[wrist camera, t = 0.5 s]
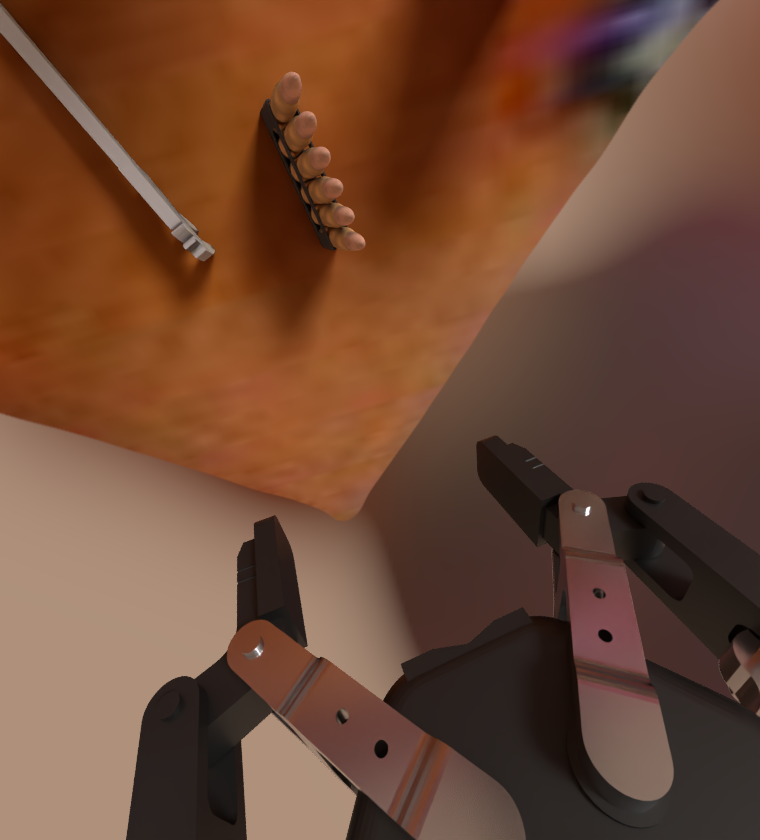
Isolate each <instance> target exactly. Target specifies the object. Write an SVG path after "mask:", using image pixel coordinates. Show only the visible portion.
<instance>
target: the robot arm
mask: <svg viewBox="0 0 760 840" xmlns="http://www.w3.org/2000/svg"><path fill="white" fill-rule="evenodd" d="M476 449H477V472H478V476H479V478H480V481H481V482H482V484H483V485H484V487H485V488H486V489H487V490H488V491H489V492H490V493H491V495H492V496H493V497H494V498H495V499H496V500H497V501H498V503H499V504H500V505H501V506H502V507H503V508H504V510H505V511H506V512H507V513H508V514H509V515H510V517H511V518H512V519H513V520H514V521H515V522H516V523H517V525H518V526H519V527H520V528H521V529H522V530H523V531H524V533H525V534H526V535H527V536H528V537H529V538H530V539H531V541H532V542H533V543H534V544H535V545H536V546H537V547H539V546H541V545H543V544H546V543H548V544H549V545H550V546H551V547H552V567H553V568H552V570H553V591H554V611H553V617H547V616H529V615H528V614H527V613H526V611H525V610H524V608H520V609H518V610H516V611H514V612H512V613H509V614H507V615H505V616H503V617H501V618H499V619H496V620H494V621H493V622H492V623H491V624H490V625H489V626H488V627H487V628H485V629H484V630H483V631H482V632H481V633H480V634H479V635H478V636H477V637H475V638H474V639H473V640H472V641H471V642H470V643H468V644H464V645H458V646H451V647H445V648H438V649H432V650H430V651H428V652H426V653H424V654H421V655H419V656H417V657H415V658H413V659H411V660H409V661H406V662H404V663H402V664H401V666H402V669H403V672H404V675H402V676H401V677H400V678H399V679H398V680H397V681H396V682H395V683H394V685H393V686H392V687H391V689H390V690H389V691H388V693H387V694H386V696H385V698H384V700H383V701H382V700H381V699H380V698H378V697H377V696H376V695H374V694H373V693H371V692H370V691H369V690H368V689H366V688H365V687H364V686H362V685H361V684H359V683H358V682H357V681H355V680H354V679H353V678H351V677H350V676H349V675H347V674H346V673H345V672H343V671H342V670H341V669H339V668H338V667H337V666H335V665H334V664H333V663H331V662H330V661H328V660H327V659H325V658H323V657H320V658H317V657H315V656H314V655H312V654H311V653H310V652H309V651H307V650H306V649H305V647H307V646H308V645H307V639H306V633H305V626H304V620H303V614H302V608H301V601H300V594H299V588H298V582H297V575H296V569H295V562H294V557H293V553H292V549H291V546H290V544H289V541H288V539H287V537H286V535H285V533H284V531H283V529H282V527H281V525H280V523H279V521H278V519H277V517H276V516H275V515H274V516H272V517H269V518H266V519H264V520H261V521H258V522H255V523H254V539H253V540H250V541H247V542H244V543H243V545H242V547H241V550H240V552H239V554H238V557H237V571H238V573H237V582H238V585H237V631H236V634H235V635H234V637H233V639H232V640H231V642H230V644H229V647H228V650H227V652H226V653H225V654H224V655H223V656H222V657H221V658H220V660H218V661H217V662H216V663H215V664H213V665H212V666H211V667H209V668H208V669H207V670H206V671H204V672H203V673H202V674H200V675H199V676H198V677H197V678H195V679H193V678H191V677H187V676H182V677H178V678H175V679H173V680H171V681H169V682H168V683H166V684H165V685H164V686H163V687H161V688H160V689H159V690H158V691H157V693H156V694H155V695H154V696H153V698H152V699H151V700H150V702H149V704H148V706H147V708H146V710H145V712H144V716H143V719H142V725H141V733H140V740H139V747H138V755H137V762H136V771H135V777H134V785H133V792H132V801H131V807H130V815H129V823H128V830H127V837H126V840H247V835H246V818H245V800H244V782H243V765H242V748H241V739H243V738H244V737H245V736H246V735H247V734H248V733H249V732H250V731H251V730H253V729H254V728H255V727H256V726H257V725H258V724H259V723H260V722H261V721H262V720H263V719H265V718H266V717H267V716H268V715H269V714H270V713H272V714H273V715H274V716H275V717H276V718H277V719H278V720H279V721H280V722H281V723H282V724H283V725H284V726H285V727H286V728H287V729H288V730H289V731H290V732H291V733H292V734H294V735H295V736H296V737H297V738H298V739H299V740H300V741H301V742H302V743H303V744H304V745H305V746H306V747H307V748H308V749H309V750H310V751H311V752H312V753H313V754H314V755H315V756H316V757H317V758H318V759H319V760H320V761H321V762H322V763H323V764H324V765H325V766H326V767H327V768H328V769H329V770H330V771H331V772H332V773H333V774H334V775H335V776H336V777H337V778H338V779H339V780H340V781H341V782H342V783H343V784H344V785H345V786H347V788H348V789H349V790H351V791H352V792H353V793H354V794H355V795H356V796H357V797H356V801H355V805H354V809H353V813H352V817H351V821H350V825H349V829H348V833H347V837H346V840H760V555H759V554H758V553H756V552H755V551H754V550H752V549H751V548H750V547H748V546H747V545H746V544H744V543H743V542H741V541H740V540H739V539H737V538H736V537H734V536H733V535H732V534H730V533H729V532H727V531H726V530H725V529H723V528H722V527H721V526H719V525H718V524H717V523H715V522H714V521H712V520H711V519H710V518H708V517H707V516H705V515H704V514H702V513H701V512H700V511H698V510H697V509H696V508H694V507H693V506H691V505H690V504H689V503H687V502H686V501H685V500H683V499H682V498H680V497H679V496H677V495H676V494H675V493H673V492H672V491H670V490H669V489H667V488H665V487H663V486H660V485H657V484H653V483H638V484H635V485H633V486H631V487H630V488H629V490H628V494H627V496H622V497H612V498H599V497H598V496H596V495H594V494H593V493H590V492H588V491H583V490H574V489H572V488H571V487H570V486H569V485H567V484H566V483H565V482H564V481H563V480H562V479H560V478H559V477H558V476H557V475H556V474H555V473H553V472H552V471H551V470H550V469H549V468H548V467H546V466H545V465H543V463H542V462H541V461H539V460H538V459H537V458H535V456H534V455H532V454H531V453H530V452H529V451H528V450H527V449H525V448H523V447H521V446H518V445H516V444H513V443H511V444H509V445H507V444H506V443H505V442H503V441H502V440H501V439H500V438H499V437H498V436H492V437H489V438H487V439H484V440H481V441H478V442H477V445H476ZM624 563H625V564H626V565H627V566H628V567H629V568H630V569H631V570H632V571H633V572H634V573H635V575H636V576H637V577H639V578H640V579H641V581H642V582H643V583H644V584H645V585H646V586H647V587H648V588H649V589H650V590H651V591H652V592H653V593H654V594H655V595H656V596H657V597H658V598H659V599H660V600H661V601H662V602H663V603H664V604H665V605H666V606H667V607H668V608H669V609H670V610H671V611H672V612H673V613H674V614H675V615H676V616H677V617H678V618H679V619H680V620H681V621H682V622H683V623H684V624H685V625H686V626H687V627H688V628H689V629H690V631H691V632H692V633H694V635H695V636H696V637H697V638H698V639H699V640H700V641H701V642H702V643H703V644H704V645H705V646H706V647H707V648H708V649H709V650H710V651H711V652H712V653H713V654H714V655H715V656H716V657H717V658H718V659H719V669H720V672H721V675H722V677H723V679H724V680H725V682H726V683H727V685H728V686H729V690H730V692H731V694H732V695H733V697H734V698H735V699H736V700H738V701H739V702H740V703H737V702H736V701H734V700H732V699H730V698H728V697H726V696H724V695H722V694H719V693H718V692H715V691H713V690H711V689H709V688H707V687H705V686H703V685H701V684H698V683H696V682H694V681H692V680H690V679H688V678H686V677H684V676H681V675H679V674H677V673H675V672H673V671H671V670H669V669H667V668H664V667H662V666H660V665H658V664H656V663H654V662H652V661H650V660H648V659H645V657H644V653H643V648H642V643H641V639H640V634H639V630H638V625H637V620H636V616H635V612H634V607H633V603H632V597H631V593H630V588H629V584H628V579H627V574H626V570H625V565H624Z"/></svg>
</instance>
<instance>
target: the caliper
mask: <svg viewBox="0 0 760 840" xmlns="http://www.w3.org/2000/svg"><path fill="white" fill-rule="evenodd" d="M0 33H1V34H2V35H3V36H4V37H5V38H6V39H7V41H8V42H9V43H10V44H11V45H12V46H13V48H14V49H15V50H16V51H17V52H18V53H19V54H20V56H21V57H22V58H23V59H24V60H25V61H26V62H27V64H28V65H29V66H30V67H31V68H32V69H33V70H34V72H35V73H36V74H37V75H38V76H39V77H40V78H41V80H42V81H43V82H44V83H45V84H46V85H47V87H48V88H49V89H50V90H51V91H52V92H53V93H54V95H55V96H56V97H57V98H58V99H59V100H60V101H61V103H62V104H63V105H64V106H65V107H66V108H67V109H68V111H69V112H70V113H71V114H72V115H73V116H74V118H75V119H76V120H77V121H78V122H79V123H80V124H81V126H82V127H83V128H84V129H85V130H86V131H87V132H88V134H89V135H90V136H91V137H92V138H93V139H94V140H95V142H96V143H97V144H98V145H99V146H100V147H101V148H102V150H103V151H104V152H105V153H106V154H107V155H108V157H109V158H110V159H111V160H112V161H113V162H114V163H115V165H116V166H117V167H118V168H119V171H120V172H121V173H122V174H123V175H124V176H125V177H126V179H127V180H128V181H129V182H130V183H131V184H132V186H133V187H134V188H135V189H136V190H137V191H138V192H139V194H140V195H141V196H142V197H143V198H144V199H145V200H146V202H147V203H148V204H149V205H150V206H151V207H152V209H153V210H154V211H155V212H156V213H157V214H158V215H159V217H160V218H161V219H162V220H163V221H164V222H165V223H166V225H167V226H168V227H169V228H170V229H171V230H173V232H172V233H171V234H172V235H173V236H175V237H176V238H177V239H178V240H179V241H181V242H182V243H184V244H183V247H184V248H185V250H188V251H190V252H191V253H192V254H193V255H194V256H195V257H196V258H197V259H199V260H201V261H205V260H207V259H208V258H209V257H210V256H211V255H213V254H214V252H215V250H214V248H213V247H212V246H211V245H209V244H208V243H206V242H204V241H202V240H201V239H200V238H199V237H198V236H197V235H196V234H197V233H198V232H199V231H198V230H197V229H196V227H195V226H194V225H193V224H192V223H190V222H189V221H188V220H187V219H186V218H185V217H183V216H182V215H181V214H180V213H179V212H178V211H177V210H176V209H175V208H174V207H173V205H172V204H171V203H170V201H169V200H168V199H167V198H166V196H165V195H164V194H163V193H162V191H161V190H160V189H159V188H158V187H157V186H156V185H155V183H154V182H153V181H152V180H151V178H150V177H149V176H148V175H147V174H146V172H145V171H144V170H142V169H141V168H140V167H139V166H138V165H137V164H136V163H135V161H134V160H133V159H132V158H131V157H130V155H129V154H128V153H127V152H126V151H125V150H124V148H123V147H122V146H121V145H120V144H119V142H118V141H117V140H116V139H115V138H114V137H113V135H112V134H111V133H110V132H109V131H108V129H107V128H106V127H105V126H104V125H103V124H102V122H101V121H100V120H99V119H98V118H97V117H96V115H95V114H94V113H93V112H92V111H91V109H90V108H89V107H88V106H87V105H86V104H85V102H84V101H83V100H82V99H81V98H80V96H79V95H78V94H77V93H76V92H75V91H74V89H73V88H72V87H71V86H70V85H69V83H68V82H67V81H66V80H65V79H64V78H63V76H62V75H61V74H60V73H59V72H58V70H57V69H56V68H55V67H54V66H53V65H52V63H51V62H50V61H49V60H48V59H47V57H46V56H45V55H44V54H43V53H42V52H41V50H40V49H39V48H38V47H37V46H36V44H35V43H34V42H33V41H32V40H31V39H30V37H29V36H28V35H27V34H26V33H25V31H24V30H23V29H22V28H21V27H20V26H19V24H18V23H17V22H16V21H15V20H14V18H13V17H12V16H11V15H10V14H9V13H8V11H7V10H6V9H5V8H4V7H3V5H2V4H1V3H0Z"/></svg>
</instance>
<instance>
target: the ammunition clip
mask: <svg viewBox="0 0 760 840" xmlns="http://www.w3.org/2000/svg"><path fill="white" fill-rule="evenodd" d="M301 90H302V84H301V79H300V77H299V75H298V74H297V73H295V72H289V73H287V74H286V75H285V76H284V77H283V78H282V80H281V81H280V82H279V83H278V84H276V86H275V88H274V91H273V94H272V97H271V100H270V99H267V100H266V101H265V103H264V105H263V107H262V109H261V111H260V114H261V116H262V118H263V120H264V123H265V125H266V127H267V129H268V131H269V133H270V135H271V137H272V140H273V142H274V144H275V146H276V148H277V150H278V152H279V155H280V157H281V159H282V161H283V163H284V165H285V167H286V170H287V172H288V174H289V176H290V178H291V180H292V182H293V185H294V187H295V189H296V191H297V193H298V195H299V197H300V200H301V202H302V204H303V206H304V208H305V210H306V212H307V215H308V217H309V219H310V221H311V223H312V225H313V227H314V230H315V232H316V234H317V236H318V238H319V240H320V242H321V245H322V246H323V247H324V248H326V249H330V250H333V251H334V250H336V248H339V249H341V250H344V251H350V250H353V251H358V250H361V249H363V248H364V247H365V240H364V238H363V237H362V236H361V235H360V234H358V233H356V232H354V231H353V230H352V229H350V228H348V227H347V225H349V224H351V223H352V222H353V221H354V218H355V215H354V213H353V211H352V210H351V209H350V208H348V207H345V206H343V205H341V204H340V203H337V201H336V199H335V198H337V197H339V196H340V195H341V193H342V192H343V185H342V183H341V182H340V181H339V180H338V179H336V178H329V177H326V175H325V172H324V170H325V168H326V167H327V166H328V165H329V163H330V159H331V155H330V152H329V151H328V149H326V148H325V147H316V148H314V146H313V144H312V141H311V140H312V139H313V134H314V132H315V130H316V127H317V120H316V117H315V115H314V114H313V113H311V112H308V111H306V112H302V113H301V114H300V112H299V110H298V107H299V103H300V95H301ZM269 102H270V103H269ZM268 103H269V104H268ZM308 145H309V148H308V149H307V150H306V151H305V150H304V148H306V147H307V146H308ZM320 174H321V176H322V177H319V178H316V177H317V176H319V175H320ZM329 202H333V203H329ZM333 246H334V247H333ZM335 247H336V248H335Z"/></svg>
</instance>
